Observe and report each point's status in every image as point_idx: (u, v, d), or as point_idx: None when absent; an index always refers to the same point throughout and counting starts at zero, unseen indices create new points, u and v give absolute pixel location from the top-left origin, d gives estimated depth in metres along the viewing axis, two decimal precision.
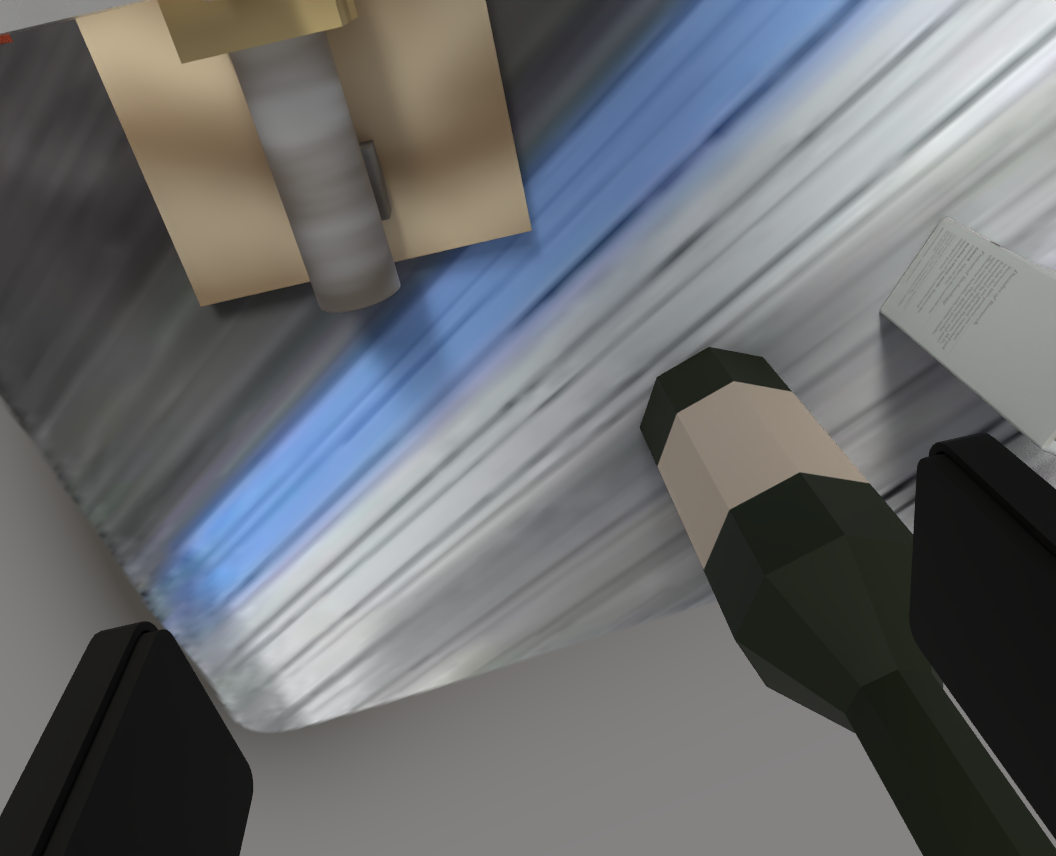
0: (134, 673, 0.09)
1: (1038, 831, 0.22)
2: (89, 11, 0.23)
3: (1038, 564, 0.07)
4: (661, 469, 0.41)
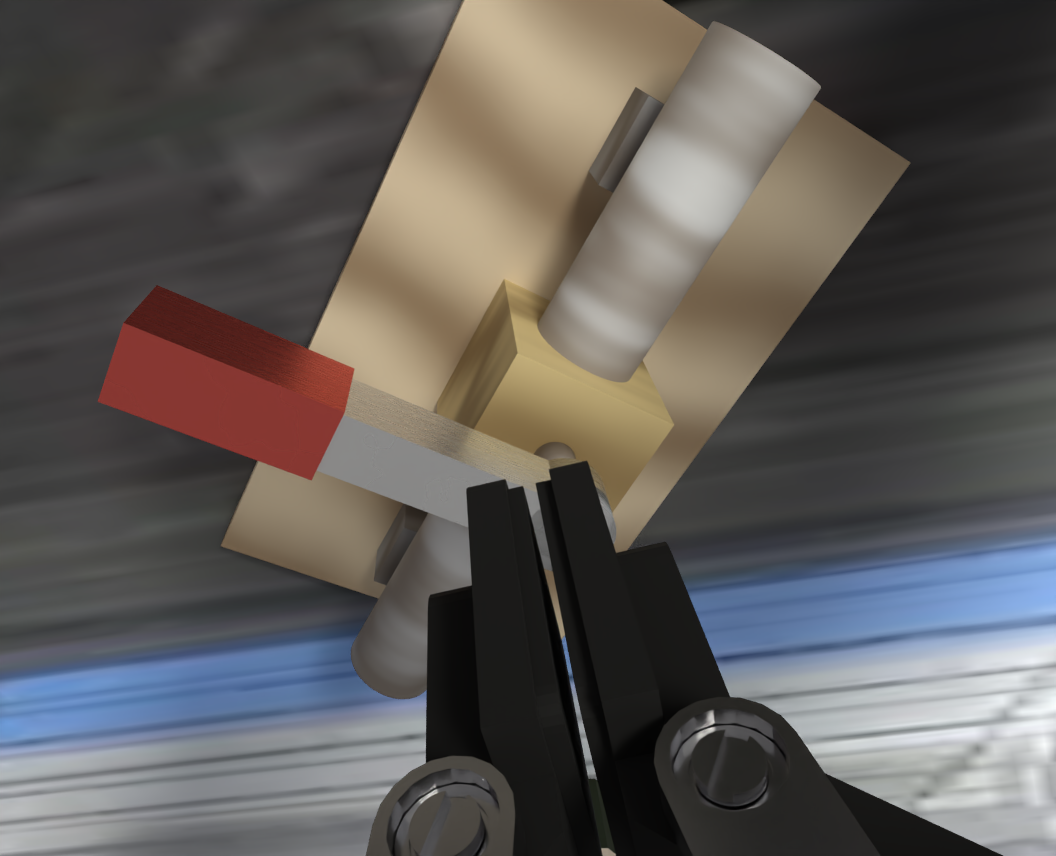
0: (521, 516, 0.10)
1: None
2: (438, 515, 0.21)
3: (559, 579, 0.09)
4: None
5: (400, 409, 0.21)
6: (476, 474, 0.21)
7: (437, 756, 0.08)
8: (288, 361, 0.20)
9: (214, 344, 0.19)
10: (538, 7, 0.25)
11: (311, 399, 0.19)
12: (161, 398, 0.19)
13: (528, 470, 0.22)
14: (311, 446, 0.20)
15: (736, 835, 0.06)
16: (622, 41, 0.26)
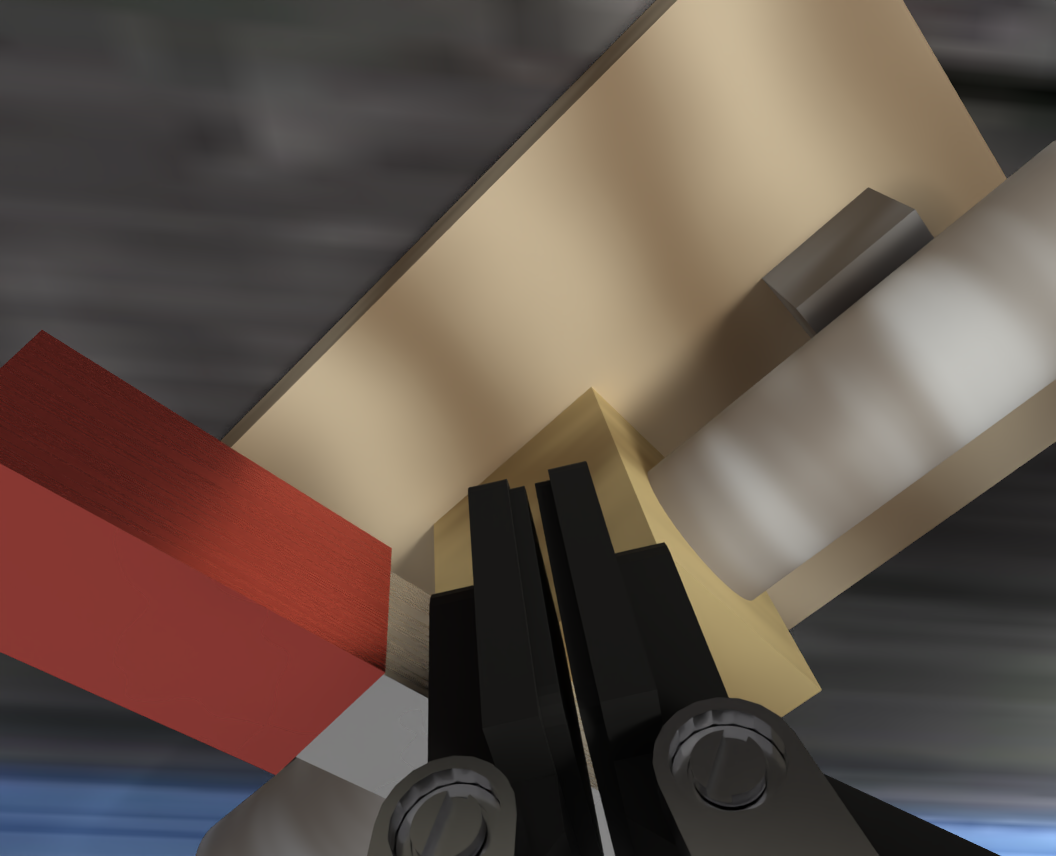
0: (522, 516, 0.10)
1: None
2: None
3: (558, 580, 0.09)
4: None
5: None
6: None
7: (439, 756, 0.08)
8: (285, 535, 0.10)
9: (143, 493, 0.09)
10: (792, 30, 0.16)
11: (326, 642, 0.09)
12: None
13: None
14: (296, 719, 0.10)
15: (735, 836, 0.06)
16: (878, 120, 0.18)
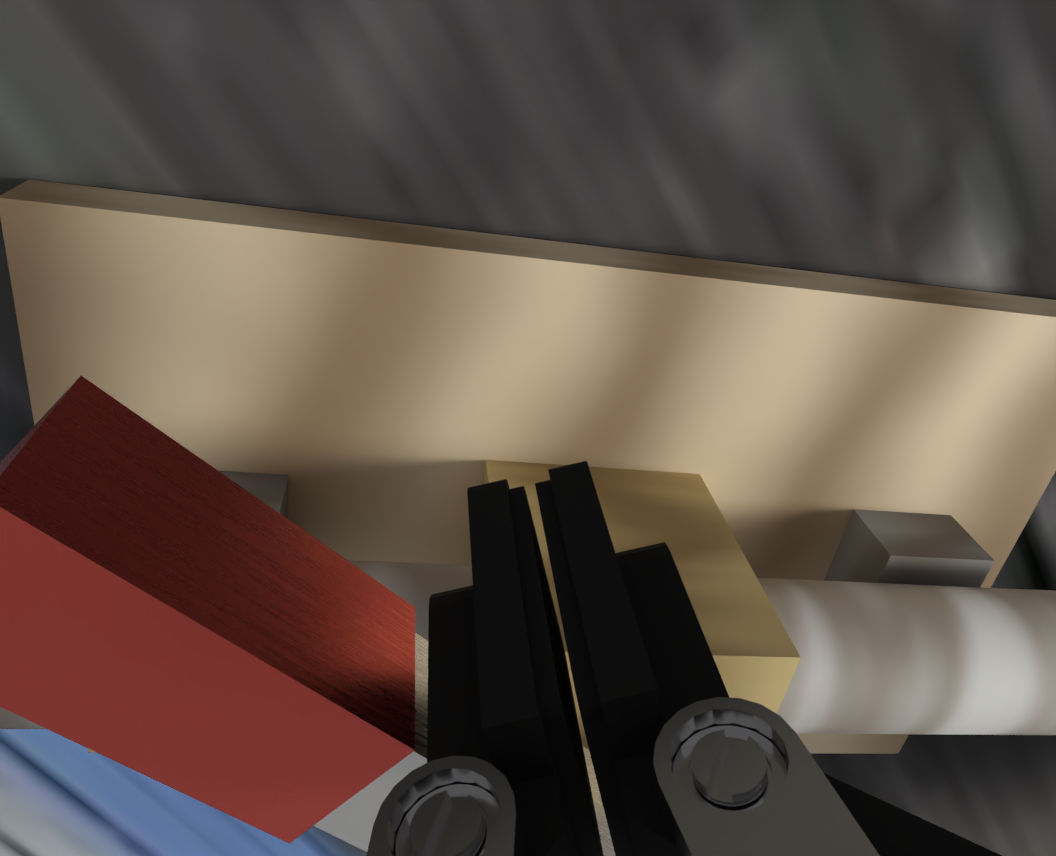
0: (521, 516, 0.10)
1: None
2: None
3: (559, 580, 0.09)
4: None
5: None
6: None
7: (438, 756, 0.08)
8: (317, 600, 0.10)
9: (183, 561, 0.08)
10: (1029, 393, 0.21)
11: (359, 720, 0.09)
12: (20, 659, 0.08)
13: None
14: (317, 791, 0.10)
15: (736, 835, 0.06)
16: (996, 484, 0.22)
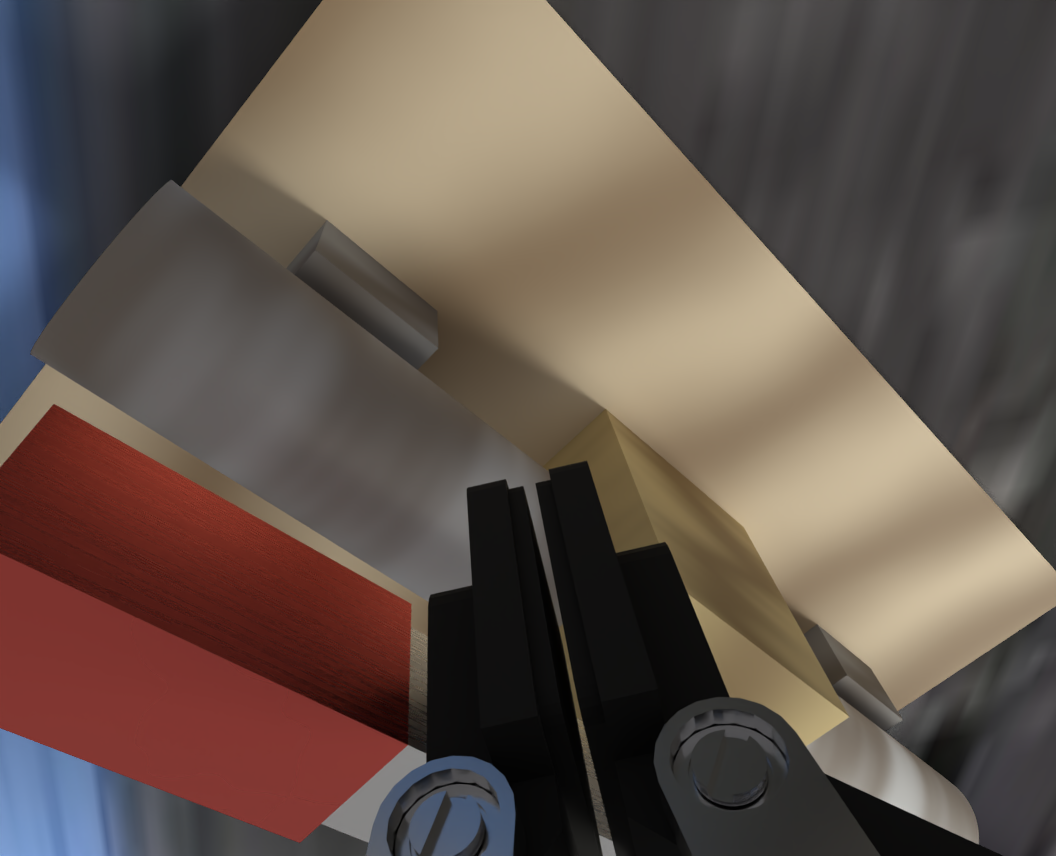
0: (521, 516, 0.10)
1: None
2: None
3: (559, 580, 0.09)
4: None
5: None
6: (608, 849, 0.11)
7: (437, 756, 0.08)
8: (304, 603, 0.10)
9: (159, 575, 0.09)
10: (985, 602, 0.24)
11: (347, 719, 0.09)
12: (11, 681, 0.08)
13: None
14: (318, 791, 0.10)
15: (736, 835, 0.06)
16: (914, 661, 0.25)
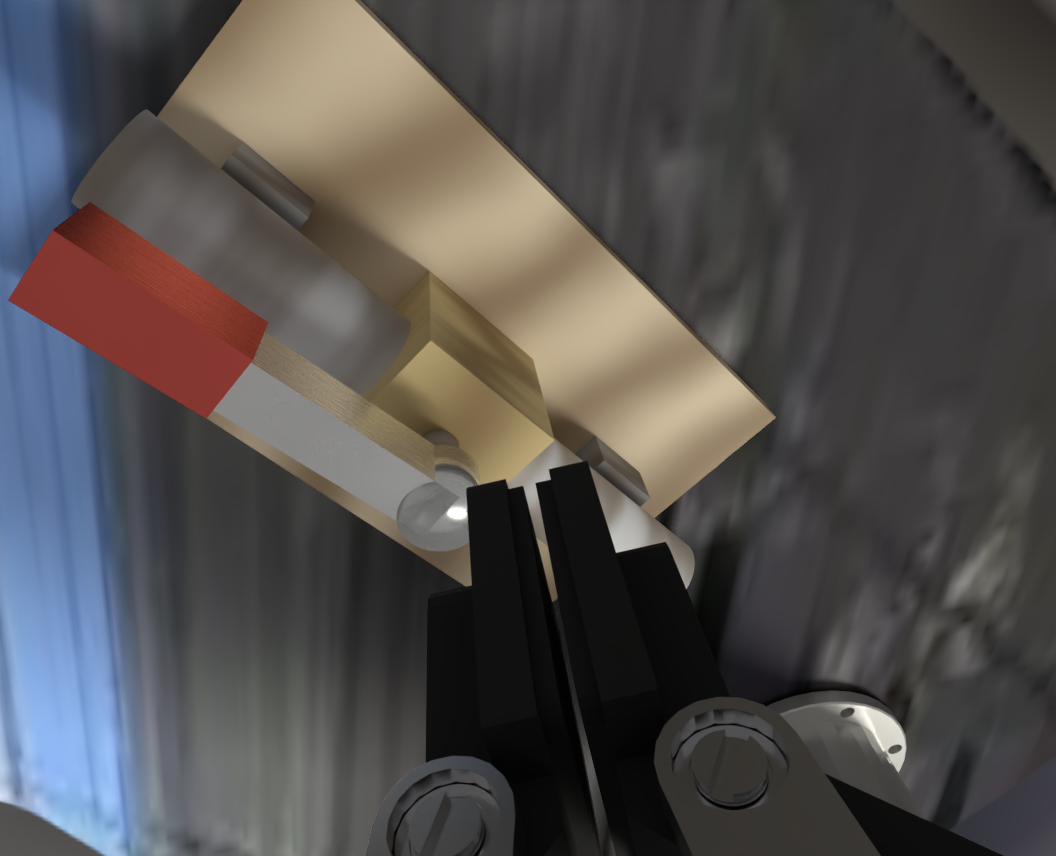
0: (520, 516, 0.10)
1: None
2: (321, 475, 0.23)
3: (559, 580, 0.09)
4: None
5: (305, 369, 0.23)
6: (366, 443, 0.22)
7: (437, 756, 0.08)
8: (207, 301, 0.21)
9: (138, 270, 0.20)
10: (712, 422, 0.36)
11: (223, 341, 0.20)
12: (74, 310, 0.19)
13: (414, 449, 0.24)
14: (213, 386, 0.21)
15: (736, 835, 0.06)
16: (670, 468, 0.37)
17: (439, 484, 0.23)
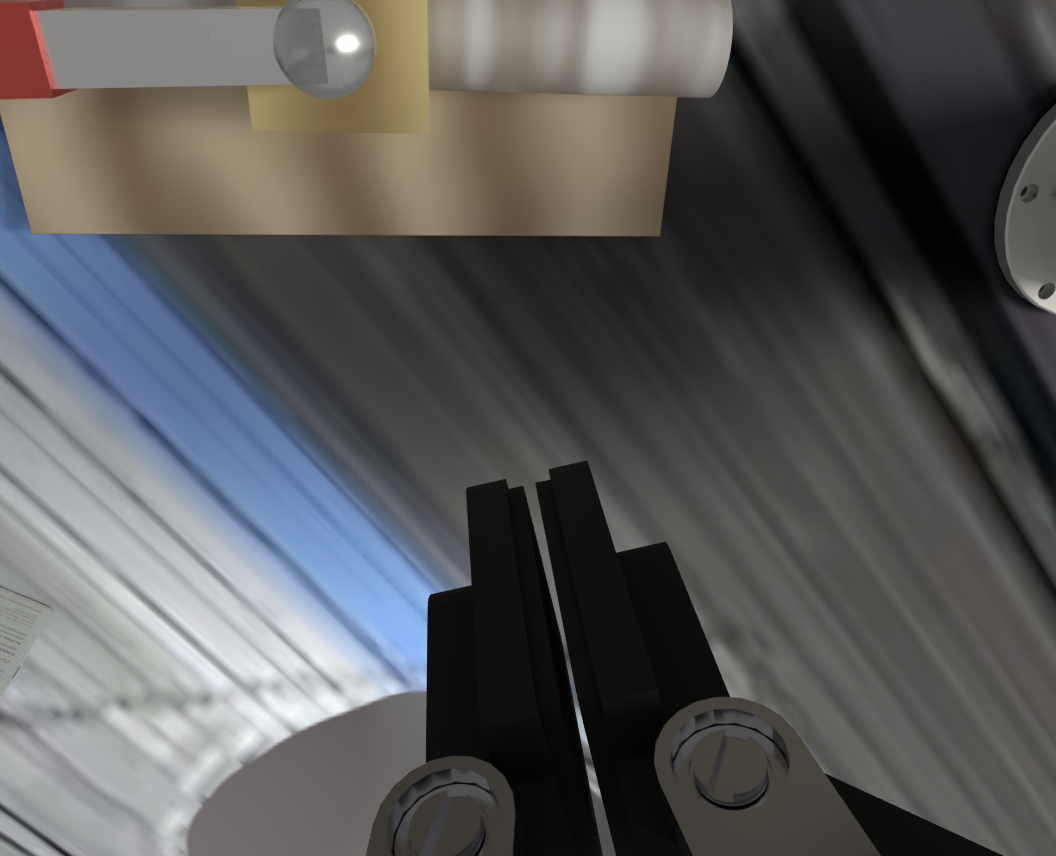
0: (520, 516, 0.10)
1: None
2: (189, 85, 0.21)
3: (559, 580, 0.09)
4: None
5: (111, 8, 0.21)
6: (191, 17, 0.21)
7: (437, 756, 0.08)
8: None
9: None
10: None
11: None
12: None
13: (257, 7, 0.21)
14: (27, 58, 0.20)
15: (736, 835, 0.06)
16: None
17: (289, 9, 0.21)
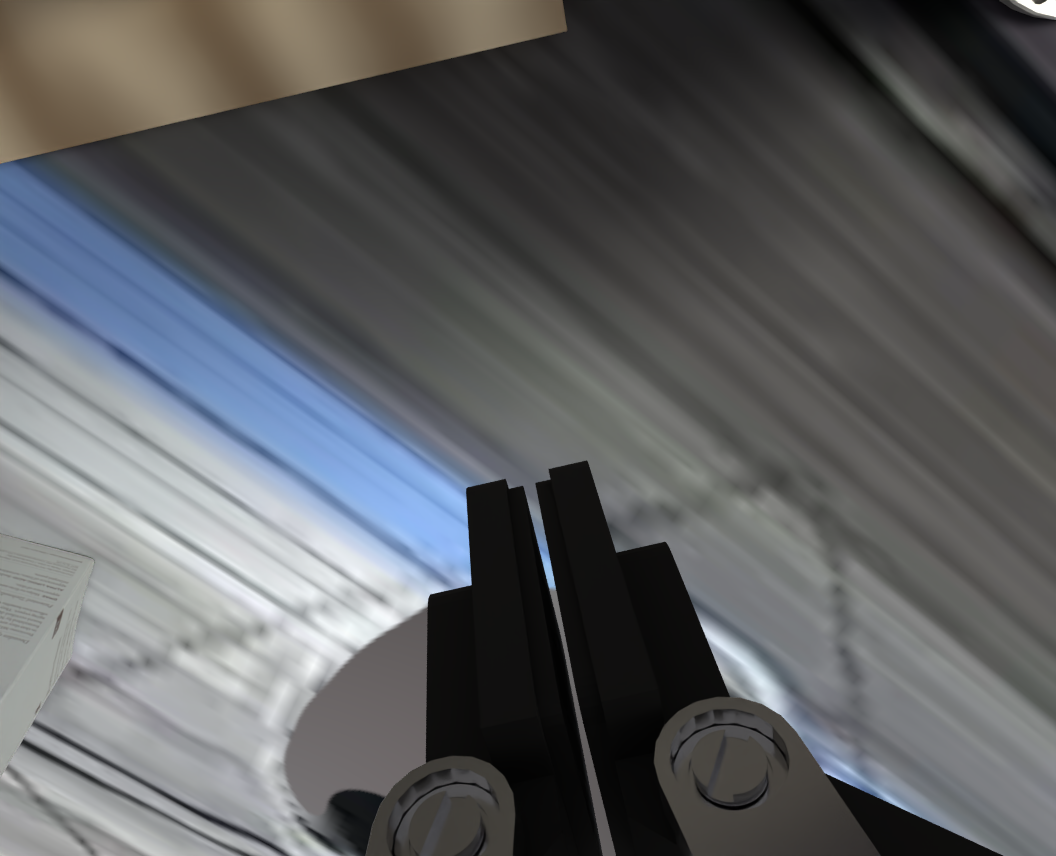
0: (520, 516, 0.10)
1: None
2: None
3: (559, 580, 0.09)
4: None
5: None
6: None
7: (437, 756, 0.08)
8: None
9: None
10: None
11: None
12: None
13: None
14: None
15: (736, 835, 0.06)
16: None
17: None
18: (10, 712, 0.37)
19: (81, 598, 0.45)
